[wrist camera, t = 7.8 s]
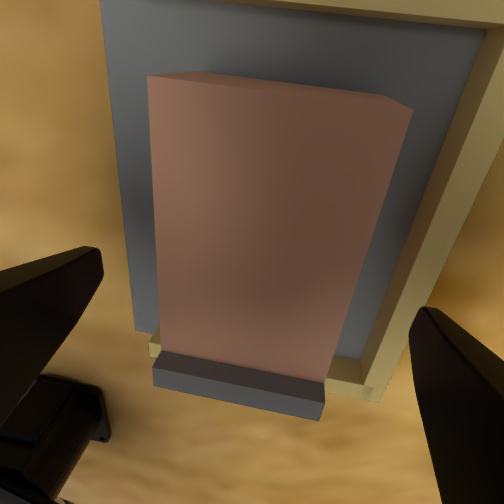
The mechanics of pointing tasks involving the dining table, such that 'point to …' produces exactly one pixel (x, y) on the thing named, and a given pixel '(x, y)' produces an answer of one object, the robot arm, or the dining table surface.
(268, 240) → the pink panel on base
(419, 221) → the dock
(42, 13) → the dining table surface
